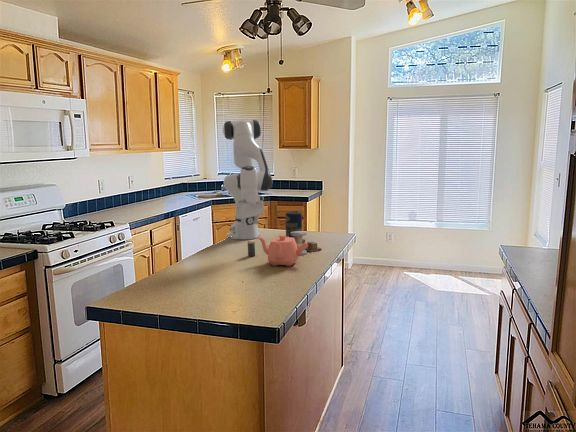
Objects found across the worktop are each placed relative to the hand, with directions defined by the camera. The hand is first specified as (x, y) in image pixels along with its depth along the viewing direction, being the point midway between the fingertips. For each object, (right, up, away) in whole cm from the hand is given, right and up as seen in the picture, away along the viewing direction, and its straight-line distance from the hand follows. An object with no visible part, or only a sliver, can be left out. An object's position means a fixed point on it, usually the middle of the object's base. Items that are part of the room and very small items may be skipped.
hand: (250, 225), depth 230 cm
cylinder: (0, -16, +3) cm, 16 cm away
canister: (+23, -10, +36) cm, 43 cm away
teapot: (+16, -18, -13) cm, 28 cm away
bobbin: (+25, -15, +6) cm, 29 cm away
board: (+29, -13, +17) cm, 36 cm away
